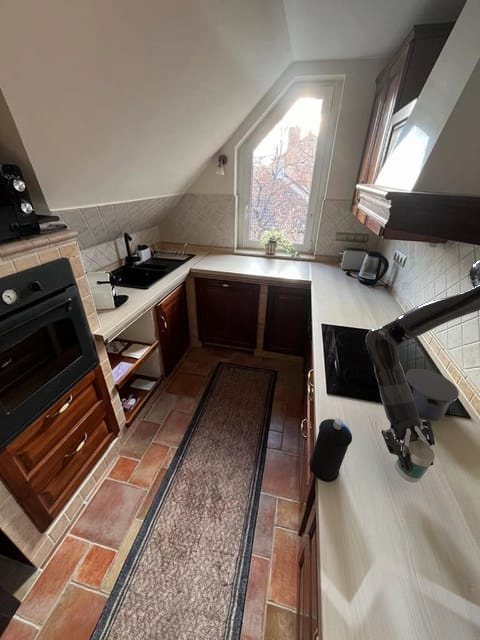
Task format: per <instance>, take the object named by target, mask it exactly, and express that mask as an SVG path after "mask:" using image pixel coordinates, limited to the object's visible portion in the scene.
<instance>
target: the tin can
mask: <svg viewBox="0 0 480 640" xmlns="http://www.w3.org/2000/svg"><path fill="white" fill-rule="evenodd" d="M435 455H436V454H435V452H434V450H433V448H432V446H431V447H430V446H428V445H427V444H426V443H424V442H422V441H421V440H412V441H411V442H409V447H407V456H408V458H409V461H410V465H411V468H412V472H410V473H409V472H406V471H404V470H403V469H402V468H401V465H400V462H399V458H398V457H397V459H396V461H395V463H394V469H395V471H396V472H397V474H398V475H399V476H400V477H401V478H402V479H403V480H405V481H407V482H409V483H418V482H420V481H421V479H422V478H423V476H424V475H425V474H426V472H427V471H428V470H429V468H430V467H431V466H430V465H431V463H432V461H433V462H434V460H435V458H436V456H435Z"/></svg>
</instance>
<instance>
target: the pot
mask: <svg viewBox="0 0 480 640" xmlns="http://www.w3.org/2000/svg"><path fill="white" fill-rule="evenodd" d="M405 377H406V380H407V383H408V385H409V387H410V389H411V392H412V395H413V398H414V401H415V404H416V407H417V410H418V413H419V418H421V419H422V420H426V421H440V420H442V419H444V417H445V415H446V414H447V412H448V411H449V409H450V407H451V406H452V404H453V403H454V402H455V401H456V400H457V399H458V398H459V395H460V393H459V390H458V387H457V386H456V385H455V384H454V383H453V382H452V381H451V380H450V379H448V378H447V377H445V376H443V375H441V374H439V373H437V372H435V371H432V370H429V369H424V368H411V369H409V370H407V371H406V372H405Z"/></svg>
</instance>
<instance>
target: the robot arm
mask: <svg viewBox="0 0 480 640" xmlns="http://www.w3.org/2000/svg"><path fill="white" fill-rule="evenodd" d="M467 278H468V282H469V284H470V286H471V287H472V288H470V289H468V290H465V291H463V292H460V293H456V294H454V295H451V296H446V297H442V298H437V299H434V300H430V301H427V302H424V303H422V304H420V305H417V306H415V307H413V308H412V309H410V310H408V311H406V312H404V313H401V314H400V315H399V316H397V317H396V318H395V319H394V320H393V321H390V322H388V323H387V324H385V325H383V326H380V327H376V328H372V329H370V330H369V331H368V333H367V334H366V335H365V341H364V342H365V346H366V349H367V351H368V354H369V356H370V359H371V362H372V365H373V371H374V375H375V379H376V382H377V385H378V392H379V396H380V399H381V402H382V405H383V409H384V413H385V416H386V419H387V420H388V422H389V424H390V425H389V426H390V427H389V428H388V429H381V432H380V433H381V435H382V437H383V440H384V443H385V445H386V448H387V450H388V453H389V454H391V455H394V456H397V459H398V458H399V462H400V465H401V468H402V469H403V470H404V471H406V472H409V473H410V472H412V468H411V465H410V461H409V458H408V456H407V447H409V442H411V441H412V440H421V441H422V442H424V443H426V444H427V445H428V446H430V447H431V448H432V446H435V445H436V441H435V436H434V431H433V427H432V423H431V420H426V419H419V418H420V417H419V413H418V410H417V407H416V404H415V401H414V398H413V395H412V392H411V389H410V387H409V385H408V383H407V380H406V377H405V375H406V373H405V372H404V371H405V370H404V368H403V366H402V364H401V361H400V357H399V356H400V355H399V352H398V348H397V347H399V346H400V345H402V344H403V343H405V342H407V341H410V340H413V339H416V338H418V337H420V336H423V335H424V334H426V333H428V332H430V331H432V330H433V329H436V328H438V327H440V326H442V325H444V324H447V323H449V322H451V321H454V320H457V319H459V318H462V317H465V316H467V315H470V314H473V313H476V312H479V311H480V259H478V260H477V261H475V262H474V263H473V264H472V265H471V267H470V268H469V270H468V277H467ZM432 466H434V460H433V461H432V463H431V465H430V466H429V467H432Z"/></svg>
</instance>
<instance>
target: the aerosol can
mask: <svg viewBox="0 0 480 640" xmlns="http://www.w3.org/2000/svg"><path fill="white" fill-rule="evenodd" d="M352 434H353V433H352V431H351V430H350V428H349V427H348V426H347V425H346V424H345V423H344V421H343V419H341V418H337V417H336V418H334V419H333V418H327V419H324V420H322V421H321V422H320V423H319V425H318V434H317V436H316V440H315V444H314V447H313V450H312V451H313V452H312V455H311V456H310V459H309V469H310V471H311V473H312V474H313V476H315V478H317V479H318V480H320V481H322V482H326V483H331V482H335V480H337V479H338V477H339V475H340V469H341V466H342V465H343V462H344V459H345V456H346V453H347V452H348V449H349V446H350V444H351V443H352V441H353V435H352Z"/></svg>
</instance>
